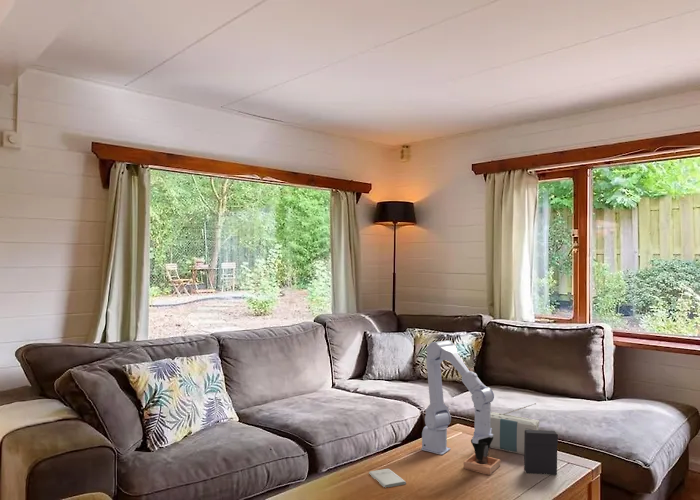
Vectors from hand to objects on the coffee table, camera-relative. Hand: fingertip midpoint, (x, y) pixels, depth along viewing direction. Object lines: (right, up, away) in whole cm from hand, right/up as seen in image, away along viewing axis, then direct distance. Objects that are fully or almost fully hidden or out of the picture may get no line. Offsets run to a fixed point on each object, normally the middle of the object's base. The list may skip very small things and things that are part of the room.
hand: (482, 457), depth 203 cm
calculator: (+20, -4, -4) cm, 21 cm away
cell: (0, -2, 0) cm, 2 cm away
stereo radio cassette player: (+16, -4, +18) cm, 25 cm away
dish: (0, -4, 0) cm, 4 cm away
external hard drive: (-36, -4, -12) cm, 38 cm away
